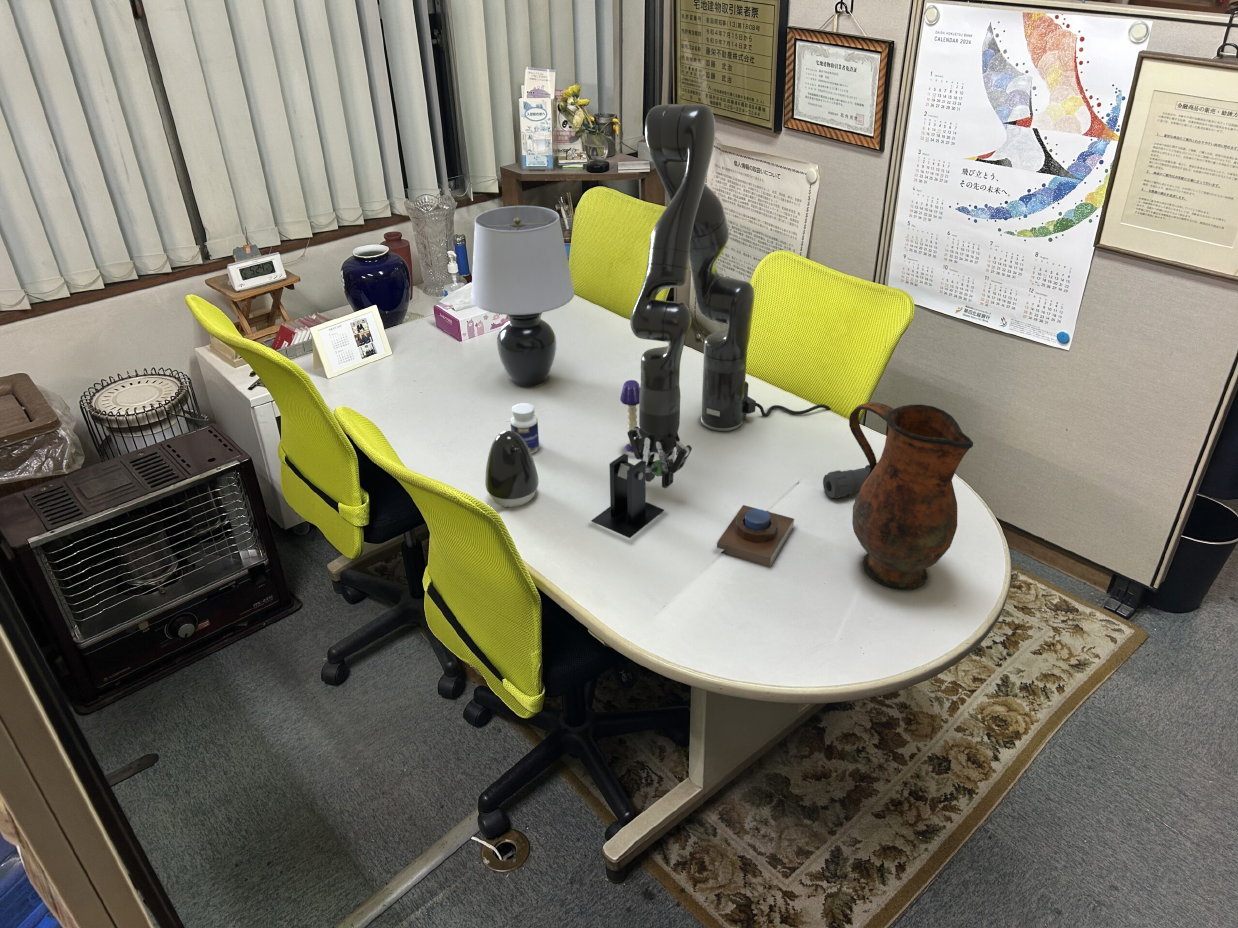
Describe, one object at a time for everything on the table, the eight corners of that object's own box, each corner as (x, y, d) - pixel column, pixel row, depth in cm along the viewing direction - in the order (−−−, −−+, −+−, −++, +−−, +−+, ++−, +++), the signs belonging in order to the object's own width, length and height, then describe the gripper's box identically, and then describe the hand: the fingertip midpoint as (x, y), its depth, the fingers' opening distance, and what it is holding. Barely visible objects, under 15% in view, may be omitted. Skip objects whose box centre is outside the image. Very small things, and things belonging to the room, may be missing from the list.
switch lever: (654, 472, 173) (658, 457, 173) (668, 478, 172) (672, 462, 171) (614, 476, 162) (618, 460, 161) (628, 482, 160) (632, 465, 159)
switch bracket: (626, 498, 174) (626, 442, 167) (664, 514, 169) (665, 457, 162) (591, 525, 166) (589, 467, 159) (629, 542, 162) (629, 484, 155)
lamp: (596, 371, 221) (591, 212, 200) (539, 411, 204) (527, 241, 183) (520, 351, 232) (508, 197, 211) (460, 387, 215) (440, 224, 194)
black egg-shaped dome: (499, 521, 168) (491, 452, 160) (480, 493, 176) (472, 427, 168) (548, 506, 172) (543, 438, 164) (527, 480, 180) (522, 414, 172)
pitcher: (910, 616, 144) (943, 459, 128) (805, 556, 157) (824, 407, 142) (965, 573, 153) (1002, 421, 137) (861, 519, 167) (884, 376, 151)
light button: (749, 514, 162) (750, 506, 161) (772, 520, 161) (773, 512, 160) (741, 527, 159) (741, 519, 158) (764, 533, 157) (765, 525, 156)
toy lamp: (640, 459, 186) (640, 388, 177) (619, 457, 187) (617, 386, 178) (644, 448, 190) (645, 378, 181) (623, 446, 191) (622, 376, 182)
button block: (742, 514, 169) (743, 496, 167) (793, 528, 165) (795, 510, 163) (716, 551, 159) (717, 533, 157) (769, 567, 155) (771, 549, 153)
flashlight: (832, 505, 171) (835, 481, 168) (819, 490, 175) (821, 467, 172) (902, 490, 175) (906, 467, 172) (887, 476, 179) (891, 453, 176)
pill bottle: (520, 458, 187) (516, 417, 182) (508, 446, 191) (504, 406, 186) (544, 450, 189) (541, 409, 184) (531, 439, 194) (528, 398, 188)
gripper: (703, 407, 162) (699, 486, 171) (640, 386, 170) (640, 463, 179) (679, 423, 157) (677, 503, 166) (616, 401, 165) (617, 479, 174)
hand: (658, 482), depth 172 cm, fingers closed on switch lever, 3 cm apart
